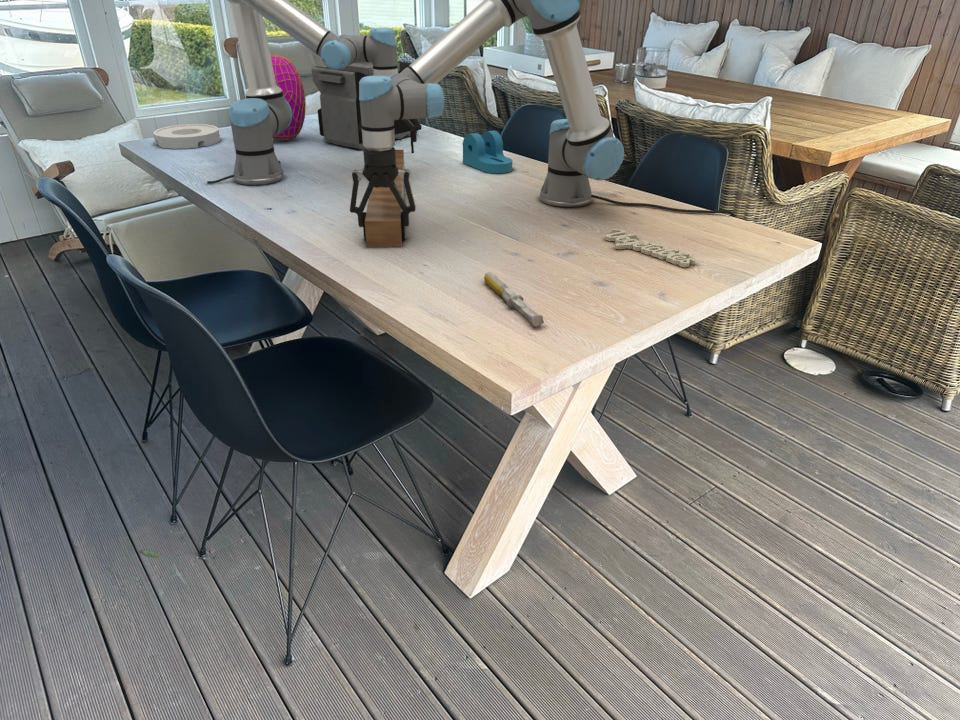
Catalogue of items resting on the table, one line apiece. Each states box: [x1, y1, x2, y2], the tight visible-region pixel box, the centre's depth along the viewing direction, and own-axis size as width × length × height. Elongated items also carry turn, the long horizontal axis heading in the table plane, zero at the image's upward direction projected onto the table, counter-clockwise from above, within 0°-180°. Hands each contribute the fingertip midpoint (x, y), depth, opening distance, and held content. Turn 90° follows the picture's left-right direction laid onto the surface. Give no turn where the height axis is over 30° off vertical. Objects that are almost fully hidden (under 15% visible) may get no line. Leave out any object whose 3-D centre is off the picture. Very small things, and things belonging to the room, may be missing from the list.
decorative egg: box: [270, 54, 307, 142], centre depth 257 cm, size 19×19×30 cm
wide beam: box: [365, 149, 406, 248], centre depth 198 cm, size 71×9×7 cm, turn 5°
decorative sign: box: [605, 228, 696, 268], centre depth 169 cm, size 26×1×10 cm
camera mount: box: [462, 130, 513, 174], centre depth 231 cm, size 18×10×10 cm, turn 35°
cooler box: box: [311, 60, 418, 151], centre depth 260 cm, size 37×22×30 cm, turn 144°
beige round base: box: [152, 123, 221, 150], centre depth 260 cm, size 23×23×4 cm
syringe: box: [483, 271, 545, 328], centre depth 142 cm, size 25×4×3 cm, turn 21°
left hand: (391, 153), depth 223 cm, fingers open, 13 cm apart
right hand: (384, 238), depth 173 cm, fingers closed on wide beam, 9 cm apart
